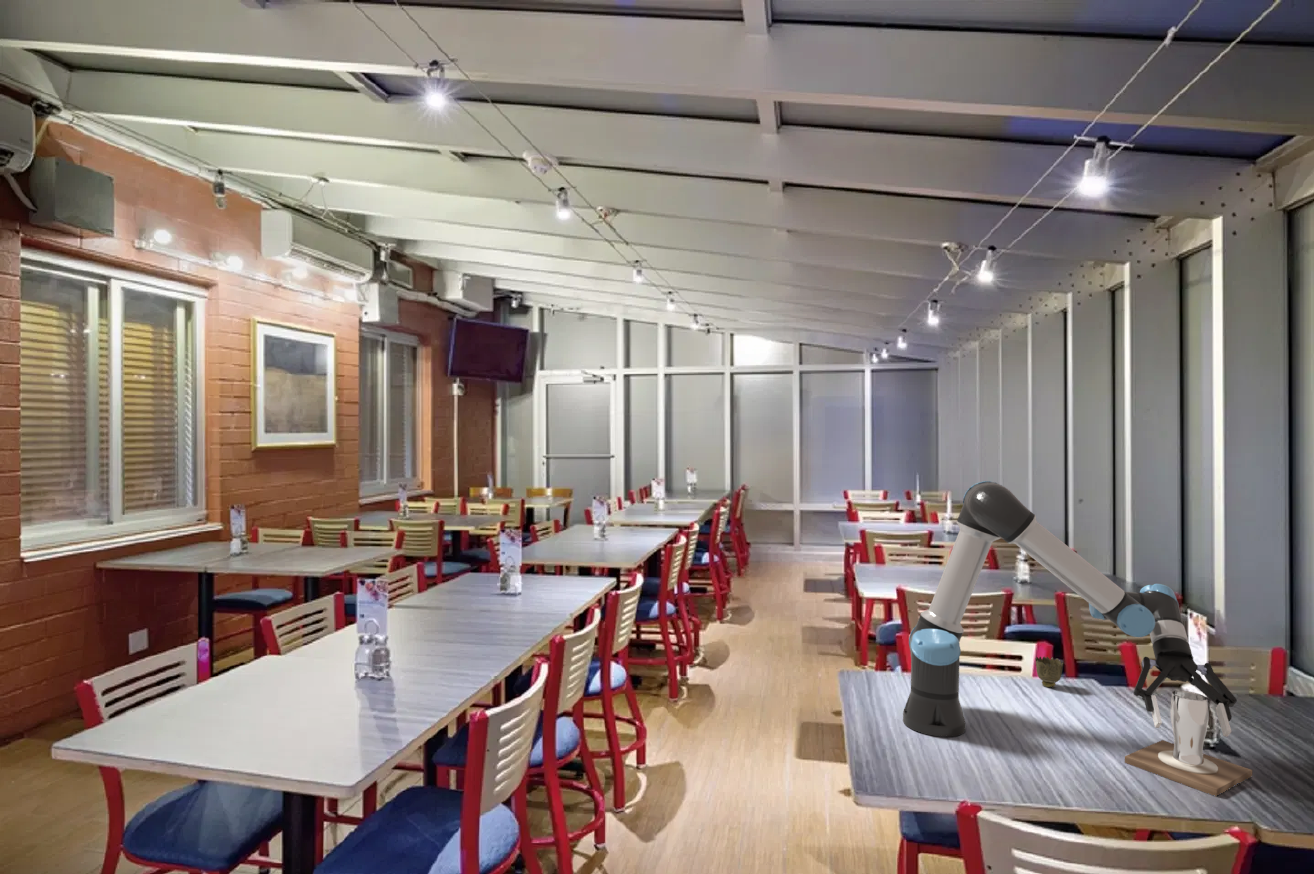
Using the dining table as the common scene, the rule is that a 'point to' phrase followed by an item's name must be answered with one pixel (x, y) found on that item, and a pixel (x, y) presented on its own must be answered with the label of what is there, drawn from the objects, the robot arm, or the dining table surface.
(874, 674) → the dining table surface
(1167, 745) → the serving board
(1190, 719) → the beer glass
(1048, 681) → the cup
